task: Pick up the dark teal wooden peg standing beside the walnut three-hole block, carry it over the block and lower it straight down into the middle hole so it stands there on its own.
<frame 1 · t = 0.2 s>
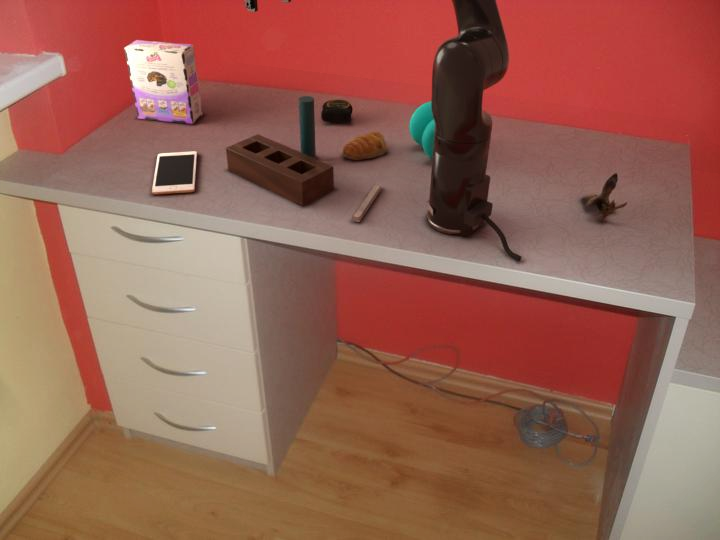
hand: (269, 6, 132), 29 cm above the table, tool pointing down, fingers open, 8 cm apart
peg: (308, 159, 144), on the table
beige square stick: (367, 205, 130), on the table
cell phone: (175, 174, 139), on the table
pastry: (366, 153, 147), on the table
tape measure: (338, 122, 160), on the table
eagle figurine: (599, 211, 129), on the table
hole block: (280, 179, 137), on the table
turquoise lobed shape: (436, 153, 147), on the table
candy box: (170, 117, 161), on the table
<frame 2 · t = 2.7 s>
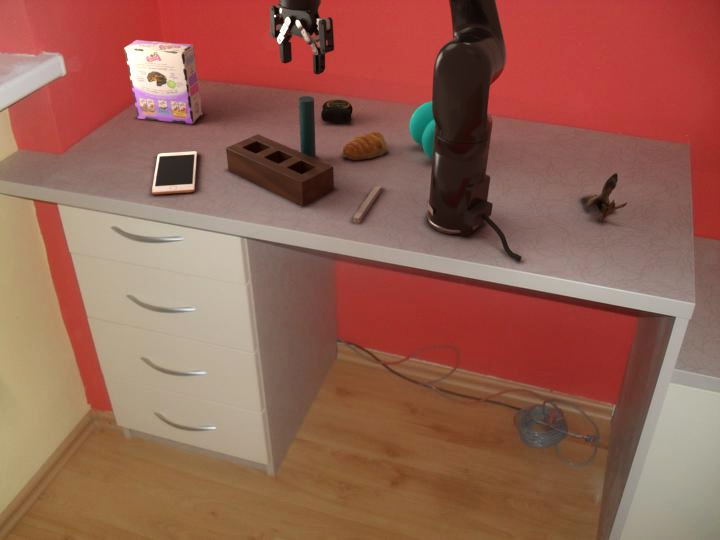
hand: (302, 67, 134), 19 cm above the table, tool pointing down, fingers open, 8 cm apart
nothing on the table moved.
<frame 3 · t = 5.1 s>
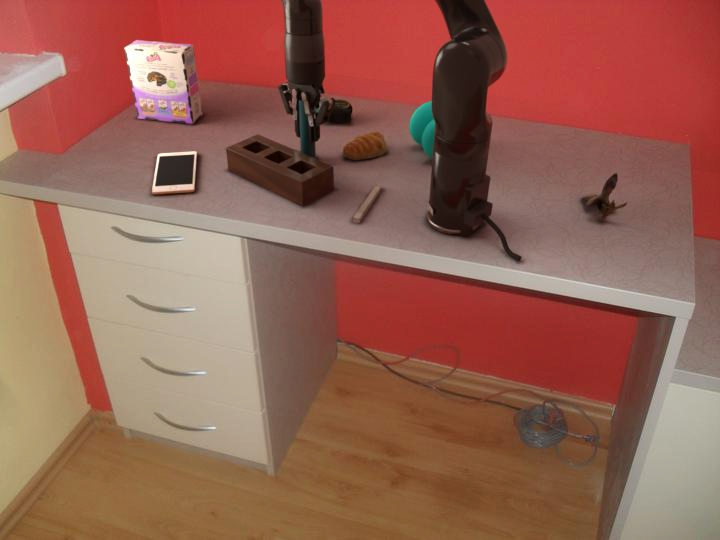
hand: (307, 138, 142), 5 cm above the table, tool pointing down, fingers closed on peg, 3 cm apart
peg: (308, 159, 144), on the table, touching gripper
everything else where it was.
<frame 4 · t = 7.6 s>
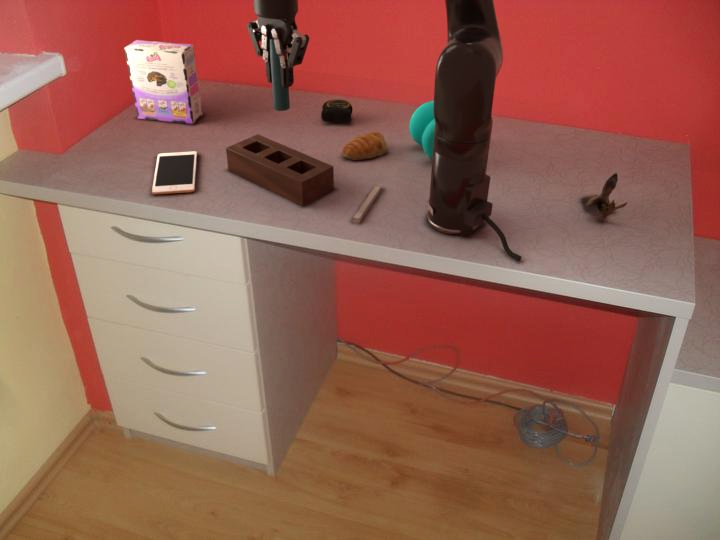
hand: (280, 83, 127), 19 cm above the table, tool pointing down, fingers closed on peg, 3 cm apart
peg: (281, 107, 130), point 14 cm above the table, touching gripper
everything else where it was.
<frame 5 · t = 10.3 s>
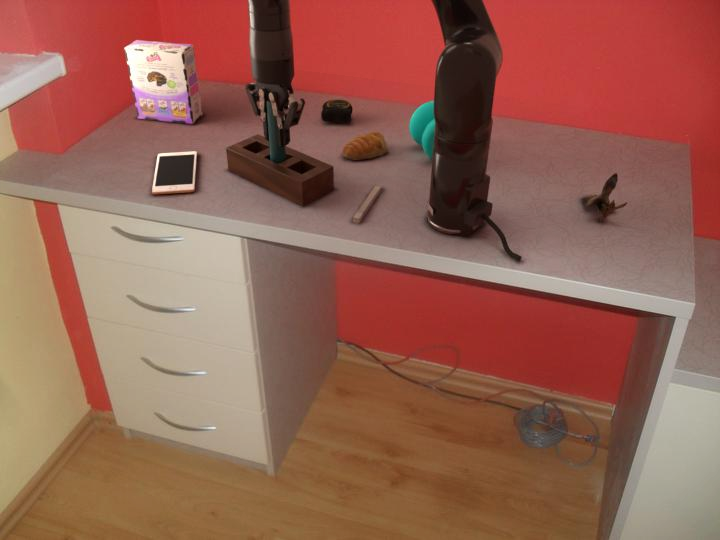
hand: (277, 141, 132), 8 cm above the table, tool pointing down, fingers closed on peg, 3 cm apart
peg: (278, 163, 135), point 3 cm above the table, touching gripper
everything else where it was.
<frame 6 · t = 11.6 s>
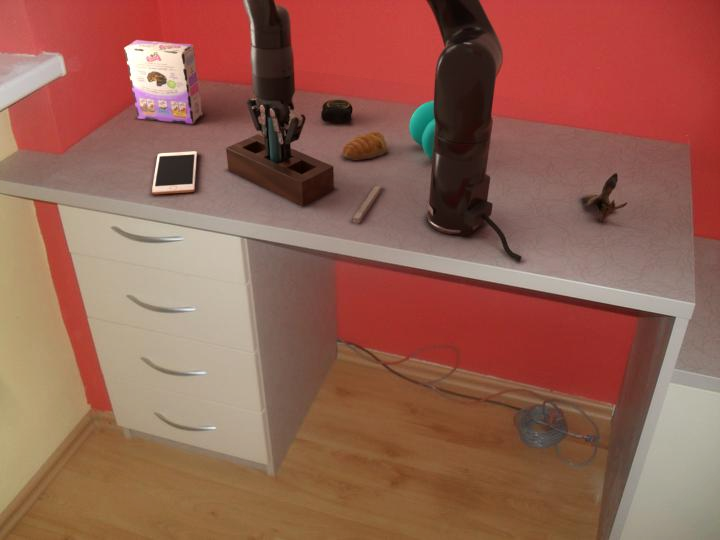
hand: (278, 156, 134), 5 cm above the table, tool pointing down, fingers closed on peg, 3 cm apart
peg: (279, 177, 137), resting in hole block, touching gripper
everything else where it was.
when the fingers open (6 cm above the table, at t = 15.7 s): peg drops 1 cm, resting in hole block.
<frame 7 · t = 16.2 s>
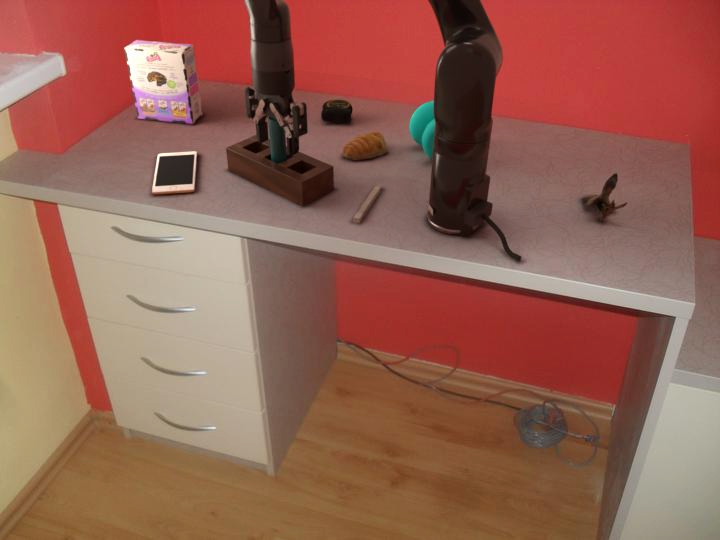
hand: (277, 147, 133), 7 cm above the table, tool pointing down, fingers open, 7 cm apart
peg: (280, 179, 137), resting in hole block
everything else where it was.
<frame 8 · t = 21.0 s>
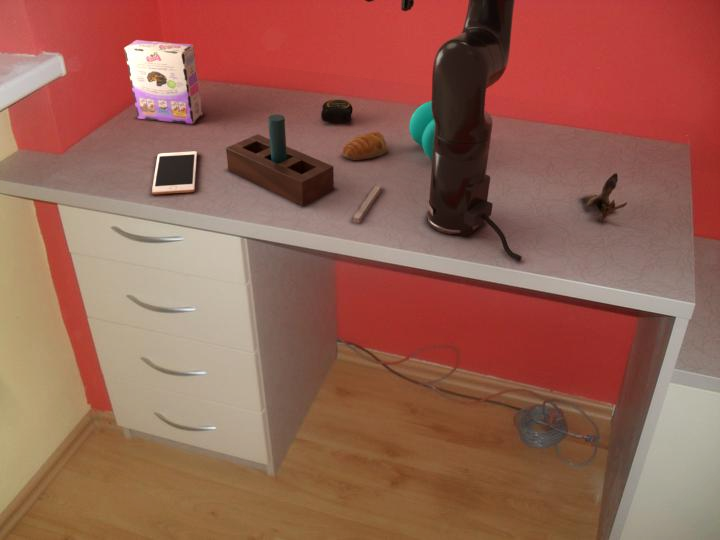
hand: (388, 5, 129), 30 cm above the table, tool pointing down, fingers open, 8 cm apart
nothing on the table moved.
at the end: peg 0.0 cm off-centre in the hole block, point 0.0 cm above the hole block's base; peg tilted 0°; the gripper is holding nothing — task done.
